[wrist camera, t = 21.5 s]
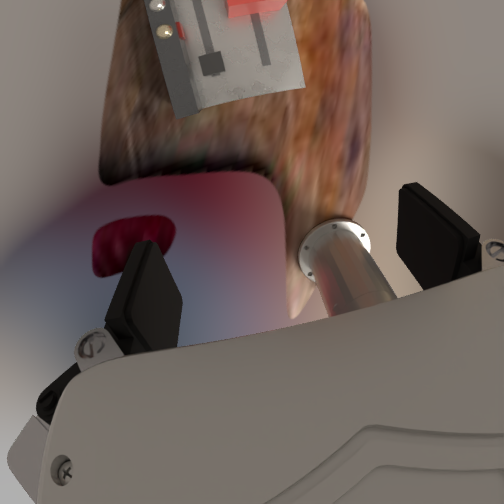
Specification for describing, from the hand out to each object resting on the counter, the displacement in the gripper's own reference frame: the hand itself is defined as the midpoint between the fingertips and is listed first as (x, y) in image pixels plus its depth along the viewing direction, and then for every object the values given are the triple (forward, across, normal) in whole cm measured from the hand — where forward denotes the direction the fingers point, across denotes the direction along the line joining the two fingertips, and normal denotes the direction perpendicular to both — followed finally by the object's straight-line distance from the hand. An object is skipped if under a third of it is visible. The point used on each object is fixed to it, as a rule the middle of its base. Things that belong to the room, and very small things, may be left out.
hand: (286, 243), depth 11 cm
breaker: (+27, +2, -8) cm, 28 cm away
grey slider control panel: (+30, 0, -12) cm, 33 cm away
